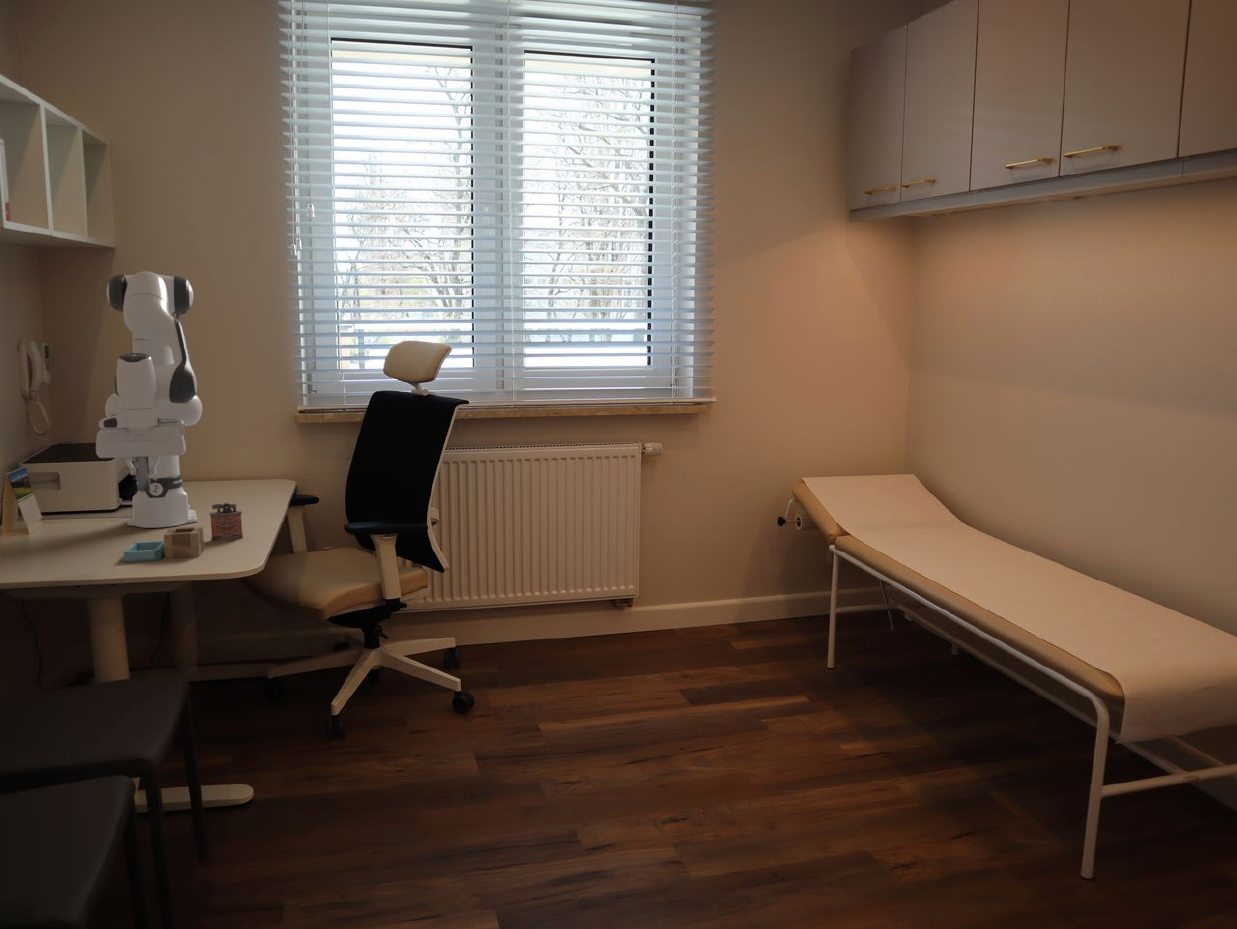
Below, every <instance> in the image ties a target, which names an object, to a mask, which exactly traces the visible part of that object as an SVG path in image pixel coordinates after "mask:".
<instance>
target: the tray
mask: <svg viewBox="0 0 1237 929" xmlns="http://www.w3.org/2000/svg"><path fill="white" fill-rule="evenodd" d="M163 557H165V546H164V540H157V541H155V540H154V541H153V540H152V541H138V542H136V541H135V542H132V544H131V545H129V547H128V548H126V550H125V551H124V552H123V560H124V561H123V562H124V563H134V562H153V561H154V562H155V561H161V560H162V558H163Z"/></svg>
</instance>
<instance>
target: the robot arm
mask: <svg viewBox="0 0 1237 929" xmlns="http://www.w3.org/2000/svg"><path fill="white" fill-rule="evenodd" d="M106 286H107V287H106V298H107V300H108V302H109V305H110V308H112V309H113V310H114V311H117V312H121V313H123V315H122V316H123V322H124V324H125V326H126V328H127V329H128V330H130V331H131V333H132V352H131V353H124V354H122V355H120V356H119V357H118V359H117V362H116V363H117V364H116V374H115V375H114V390H115V391H114V393H113V394H111V395H110V396H109V397H108V398H107V400H106V402H105V406H104V412H105V413H104V414H105V418H102V419H100V420H99V421H98V427H99V429H100V430H98V432H97V433H96V436H95V437H96V438H95V454H96V456H97V457H99V458H100V459H111V458H113V459H114V458H124V460H123V461H124V463H125V464H126V465H127V467H128V468H129V472H130V475H131V476H137V477H136V487H137V492H136V493H135V494H134V495H133V496H132V519H129V520H128V521H127V524H126V525H127V526H133V527H134V526H135V527H138V528H144V529H145V528H149V529H150V528H151V529H152V528H153V529H154V528H168V527H174V526H181V525H185V524H191V523H195V522H196V523H197V522H198V517H197V512H196V510H195V509H192V506H191V505H190V504H189V500H188V494H187V492H186V491H185V490H184V488H183V485H184V484H183V477H182V474H181V471H180V458H179V457H180V456H183V455H184V454H185V452H186V451H187V445H186V440H185V436H184V435H185V434H186V427H189V426H193V425H196V424H197V423H198V422H199V421H200V419H201V417H202V415H203V405H202V400H201V399H200V398H199V396H198V395H197V391H198V382H197V377H196V374H195V372H194V370H193V368H192V364H191V357H190V354H189V349H188V345H187V340H186V335H185V332H184V329H183V326H182V324H181V322H180V320H179V319H180V317H181V316H182V315H185V314H186V313H187V312H188V311H189V310H191V306H192V304H193V301H194V290H193V287H192V286H191V283H190V281H189V280H188V279H187V278H185V277H182V276H177V275H175V276H171V275H165V274H157V273H155V272H153V271H149V270H148V271H145V270H144V271H138V272H136V273H134V274H125V273H124V274H116V275H113V276H112V277H111V278H110V279H109V282H108V284H107V285H106ZM174 314H175V317H176V318H174V317H173V316H172V315H174ZM146 456H148V457H149V468H148V469H149V474H150V483H151V491H146V492H139V488H138V475H137V466H135V465H134V464H133V463H132V461H133V458H136V457H146Z"/></svg>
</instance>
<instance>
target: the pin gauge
mask: <svg viewBox="0 0 1237 929" xmlns="http://www.w3.org/2000/svg"><path fill="white" fill-rule="evenodd" d="M135 459H136V467H137V475H136V476H137V477H138V488H139V492H146V491H151V483H150V474H149V469H148V468H149V457H148V456H146V457H135Z"/></svg>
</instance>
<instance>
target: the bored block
mask: <svg viewBox="0 0 1237 929" xmlns="http://www.w3.org/2000/svg"><path fill="white" fill-rule="evenodd" d="M204 534H205V533H204V526H187V527H170V528H168V530H167V531H165V532H164V534H163V541H164V546H165V554H164V557H165V559H174V558H175V559H176V558H189V557H190V558H192V557H200V556H201V555H202V553H204V550H205V549H206V548H205V538H204Z"/></svg>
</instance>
